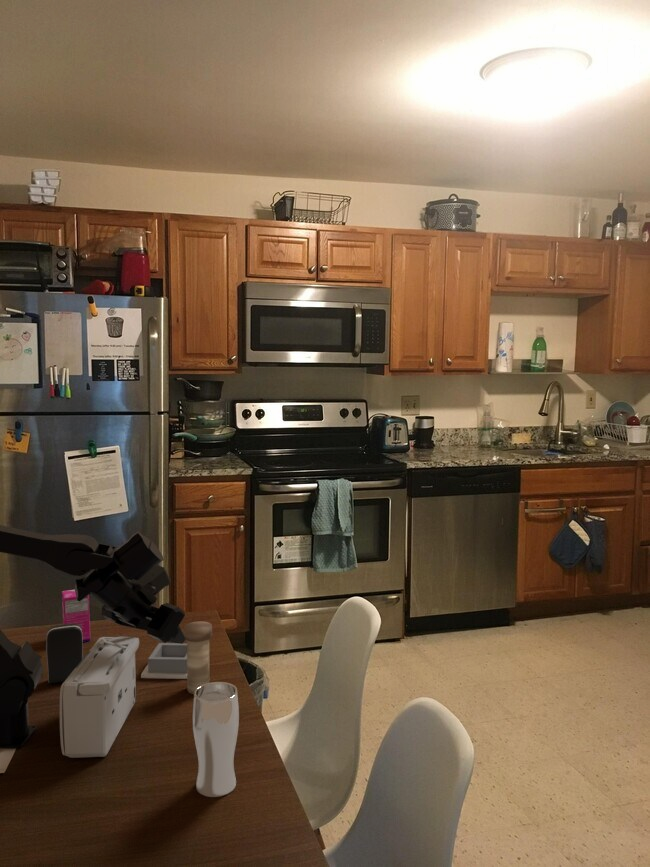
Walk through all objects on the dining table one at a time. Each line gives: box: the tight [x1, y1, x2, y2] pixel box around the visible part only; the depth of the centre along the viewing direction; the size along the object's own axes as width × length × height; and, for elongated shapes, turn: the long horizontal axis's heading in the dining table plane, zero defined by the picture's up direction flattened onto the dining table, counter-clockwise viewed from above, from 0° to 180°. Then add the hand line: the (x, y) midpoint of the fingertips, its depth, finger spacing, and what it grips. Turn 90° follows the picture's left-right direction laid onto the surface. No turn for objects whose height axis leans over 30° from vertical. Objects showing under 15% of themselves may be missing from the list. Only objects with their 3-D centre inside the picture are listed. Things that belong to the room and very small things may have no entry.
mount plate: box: [140, 642, 187, 680], centre depth 144 cm, size 10×11×4 cm
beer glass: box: [192, 681, 240, 798], centre depth 102 cm, size 7×7×15 cm
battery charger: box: [45, 623, 84, 685], centre depth 138 cm, size 7×4×11 cm, turn 112°
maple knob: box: [183, 620, 213, 695], centre depth 134 cm, size 6×6×13 cm
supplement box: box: [61, 589, 92, 643], centre depth 159 cm, size 6×6×12 cm
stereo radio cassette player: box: [59, 636, 140, 759], centre depth 118 cm, size 21×8×20 cm, turn 1°
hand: (168, 635), depth 127 cm, fingers open, 9 cm apart
